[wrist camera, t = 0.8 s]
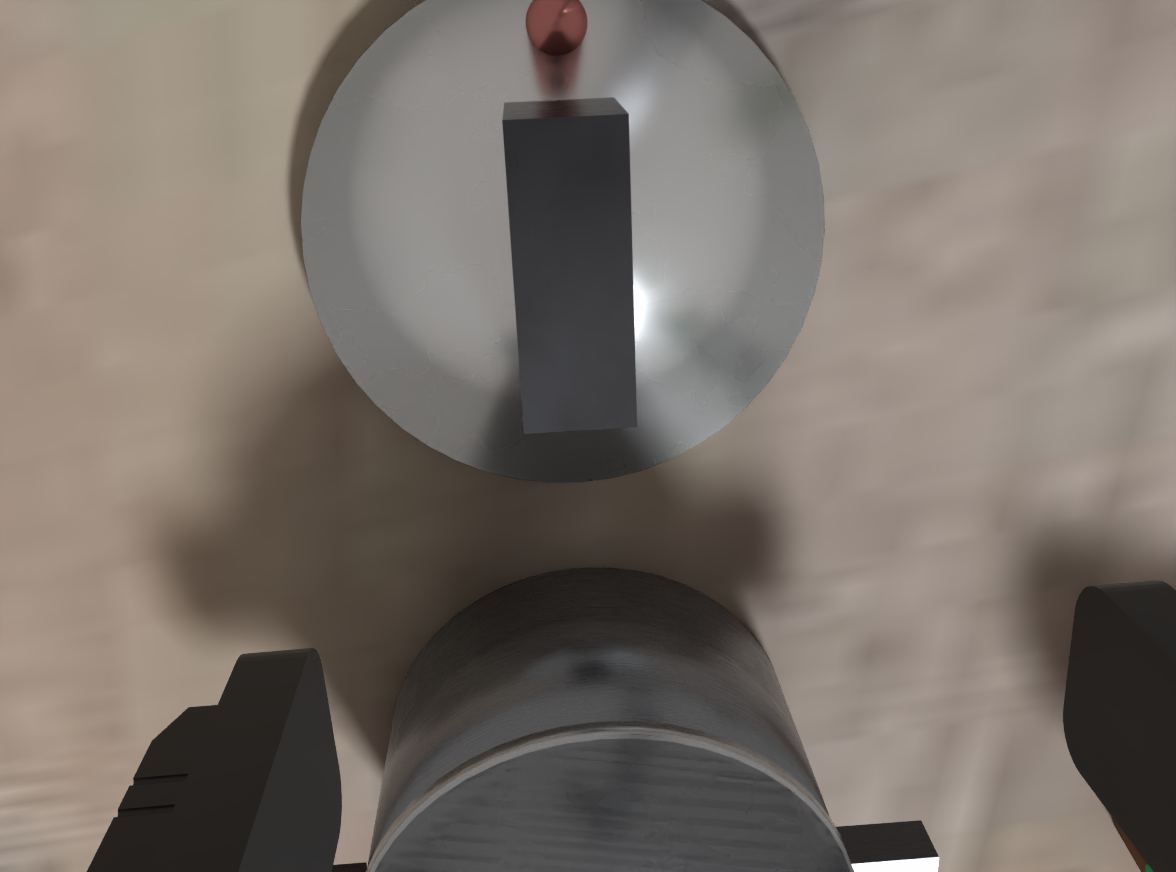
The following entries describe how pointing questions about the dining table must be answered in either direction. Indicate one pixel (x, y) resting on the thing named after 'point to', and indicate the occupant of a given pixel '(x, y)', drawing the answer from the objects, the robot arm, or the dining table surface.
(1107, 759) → the robot arm
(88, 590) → the dining table surface
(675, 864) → the cooker pot
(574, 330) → the steel lid
